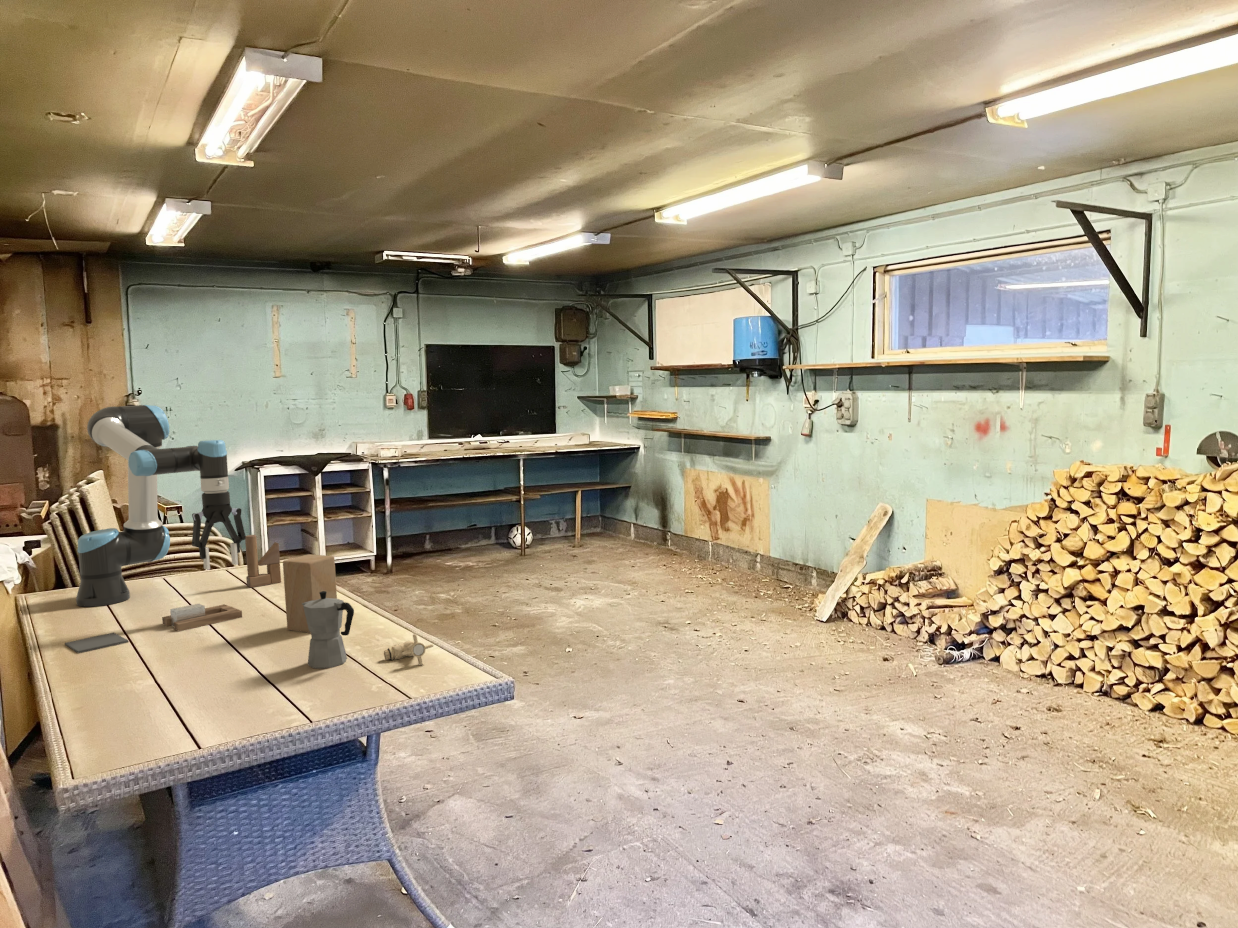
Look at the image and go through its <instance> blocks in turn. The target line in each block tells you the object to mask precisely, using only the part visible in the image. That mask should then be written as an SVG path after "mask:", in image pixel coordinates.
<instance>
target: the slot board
mask: <svg viewBox="0 0 1238 928" xmlns="http://www.w3.org/2000/svg"><path fill="white" fill-rule="evenodd" d="M161 618H162V624H163V625H164V626H167V627H168V626H172V625H171V614H170V615H167V616H163V617H161ZM241 618H243V610H241V609H238V608H235V607H233V606H231V605H227V604H220V605H215V606H209V607H205V616H201V617H197V618H192V619H187V620H183V621H178V622H174V626H173V627H174V630H176V631H177V632H182V631H187V630H191V629H196V628H200V627H204V626H209V625H212V624H217V623H222V622H227V621H231V620H236V619H241Z"/></svg>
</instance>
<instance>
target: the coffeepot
mask: <svg viewBox="0 0 1238 928" xmlns="http://www.w3.org/2000/svg"><path fill="white" fill-rule="evenodd" d="M326 593H327V592H326V591H322V592H320V596H321V599H318V600H312V601H308V602H304V603H302V605H304V606H303V607H304V611H305V616H306V620H307V624H308V629H309V631H310V632H311V633H310V634H311V635H310V636H311V638H310V640H309V648H308V649H309V650H308V656H307V657H308V658H307V666H309V667H310V668H312V669H319V670H320V669H322V670H323V669H330V668H331V669H332V668H334V667H335V668H336V667H339V666H341V665H343V664H345V663H346V661H347V659H348V655H347V653H346V647H345V644H344V639H343V636H349V634H350V631H351V626H352V622H353V617H354V614H355V610H354V608H353V606H352V605H351V603H349V602H346V601H344V600H343V599H339V598H337V599H335V598H326ZM344 611H346V615H345V616H346V621H345V624H344V631H341V629H342V626H343V624H342V622H343V613H344Z"/></svg>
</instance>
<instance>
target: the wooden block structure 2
mask: <svg viewBox="0 0 1238 928" xmlns="http://www.w3.org/2000/svg"><path fill="white" fill-rule="evenodd" d="M245 536H246V539H245V540H244V542H245V556H246V568H247V570H246V571H247V576H246V578H245V579H246V586H247V587H248V588H249V589H251V588H256V587H263V586H268V585H274V584H280V583H282V575H281V573H282V572H281V561H280V560H281V559H280V558H281V557H280V545H279V543H278V542H275V541H274V542H273V544H271V546H270V547H269V548H268V550H267V551H266V552H265V553H264V555H262V557H261V558H260V559H259V558H258V557H259V556H258V543H257V541H258V540H257V535H256V534H248V535H245ZM261 566H266V573H260V572H259V571H260V569H259V567H261Z"/></svg>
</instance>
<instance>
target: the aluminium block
mask: <svg viewBox="0 0 1238 928" xmlns="http://www.w3.org/2000/svg"><path fill="white" fill-rule="evenodd" d="M205 608H206V606H205V605H203V604H201V603H195V604H190V605H185V606H180V607H175V608H171V609H169V611H170V615H171V625H170V626H172V627H174V622H178V621H183V620H187V619H192V618H197V617H201V616H205Z"/></svg>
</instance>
